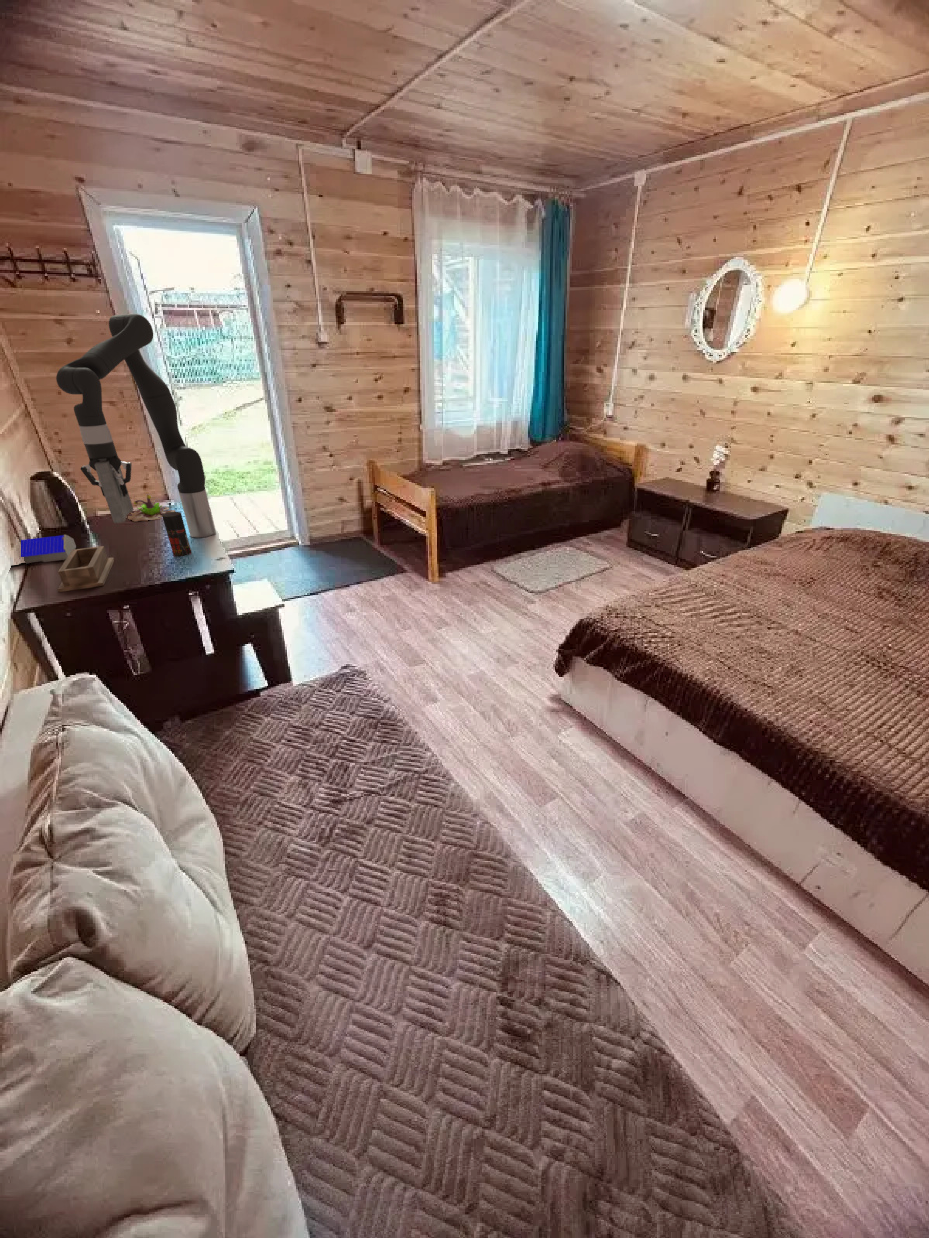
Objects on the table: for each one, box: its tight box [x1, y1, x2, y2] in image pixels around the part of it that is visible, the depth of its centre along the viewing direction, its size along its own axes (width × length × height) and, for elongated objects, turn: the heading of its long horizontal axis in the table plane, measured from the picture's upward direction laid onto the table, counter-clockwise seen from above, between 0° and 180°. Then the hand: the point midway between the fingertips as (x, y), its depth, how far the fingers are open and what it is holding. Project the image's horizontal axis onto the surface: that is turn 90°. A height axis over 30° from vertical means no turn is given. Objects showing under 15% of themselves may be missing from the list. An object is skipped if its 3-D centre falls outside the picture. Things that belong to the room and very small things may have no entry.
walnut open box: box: [57, 545, 115, 593], centre depth 171 cm, size 12×24×6 cm, turn 24°
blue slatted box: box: [20, 534, 77, 564], centre depth 185 cm, size 22×14×7 cm, turn 113°
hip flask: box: [95, 458, 135, 524], centre depth 164 cm, size 16×4×20 cm, turn 19°
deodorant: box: [162, 511, 192, 558], centre depth 185 cm, size 6×6×15 cm
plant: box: [126, 493, 176, 523], centre depth 226 cm, size 20×20×11 cm
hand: (116, 496), depth 166 cm, fingers closed on hip flask, 4 cm apart
